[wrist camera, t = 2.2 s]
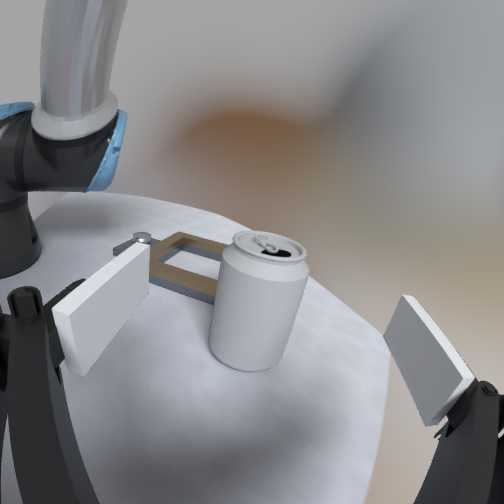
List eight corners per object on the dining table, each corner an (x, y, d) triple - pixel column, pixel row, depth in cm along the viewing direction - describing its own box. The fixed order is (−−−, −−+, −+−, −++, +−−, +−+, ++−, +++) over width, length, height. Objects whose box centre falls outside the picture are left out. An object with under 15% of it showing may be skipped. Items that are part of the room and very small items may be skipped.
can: (233, 387, 22) (262, 264, 18) (195, 337, 28) (209, 226, 23) (294, 363, 27) (332, 256, 22) (253, 323, 32) (276, 225, 28)
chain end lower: (98, 262, 37) (98, 243, 36) (150, 236, 51) (152, 221, 50) (227, 309, 34) (231, 288, 33) (255, 266, 47) (259, 249, 46)
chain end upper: (128, 274, 36) (128, 246, 35) (177, 243, 50) (179, 222, 48) (274, 323, 33) (283, 293, 31) (289, 275, 47) (295, 252, 45)
